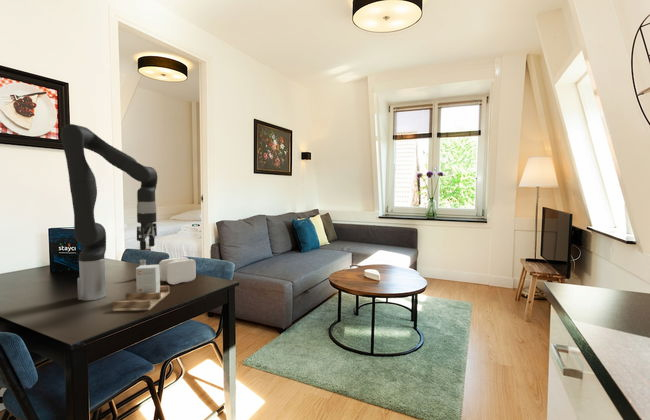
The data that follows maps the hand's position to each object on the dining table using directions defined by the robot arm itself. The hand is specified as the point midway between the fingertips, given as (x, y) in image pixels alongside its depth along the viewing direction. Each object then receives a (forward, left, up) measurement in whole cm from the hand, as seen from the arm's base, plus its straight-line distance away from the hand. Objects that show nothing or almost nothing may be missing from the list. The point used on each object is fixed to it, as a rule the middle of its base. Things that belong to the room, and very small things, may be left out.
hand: (147, 248), depth 146 cm
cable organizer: (+4, +25, -23) cm, 34 cm away
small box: (0, 0, -21) cm, 21 cm away
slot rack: (0, -5, -22) cm, 23 cm away
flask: (-16, +31, -23) cm, 41 cm away
